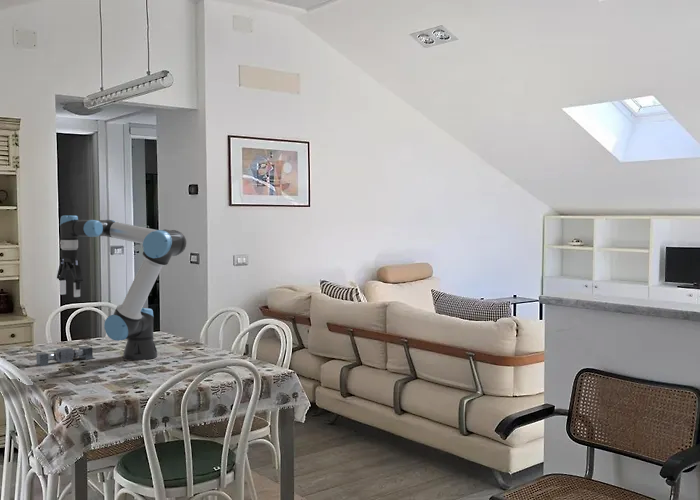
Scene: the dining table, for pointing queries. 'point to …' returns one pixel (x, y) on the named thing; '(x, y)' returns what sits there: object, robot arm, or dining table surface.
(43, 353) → the shaft
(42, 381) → the dining table surface
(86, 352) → the shaft
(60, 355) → the block
